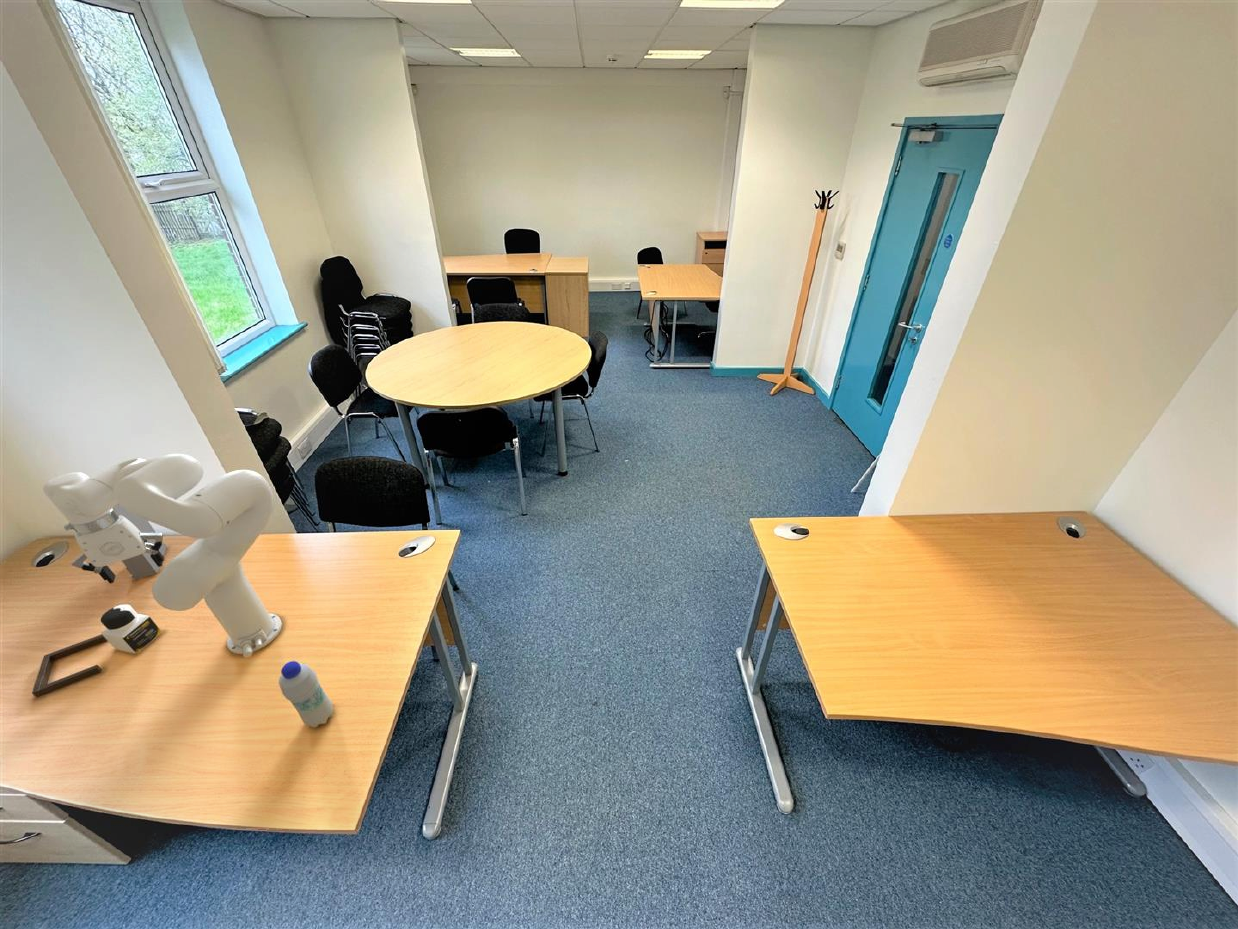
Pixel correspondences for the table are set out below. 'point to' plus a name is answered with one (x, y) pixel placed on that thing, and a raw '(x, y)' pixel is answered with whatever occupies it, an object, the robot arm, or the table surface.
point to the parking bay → (46, 667)
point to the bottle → (305, 693)
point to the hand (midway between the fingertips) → (137, 571)
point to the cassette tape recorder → (142, 562)
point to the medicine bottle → (128, 629)
